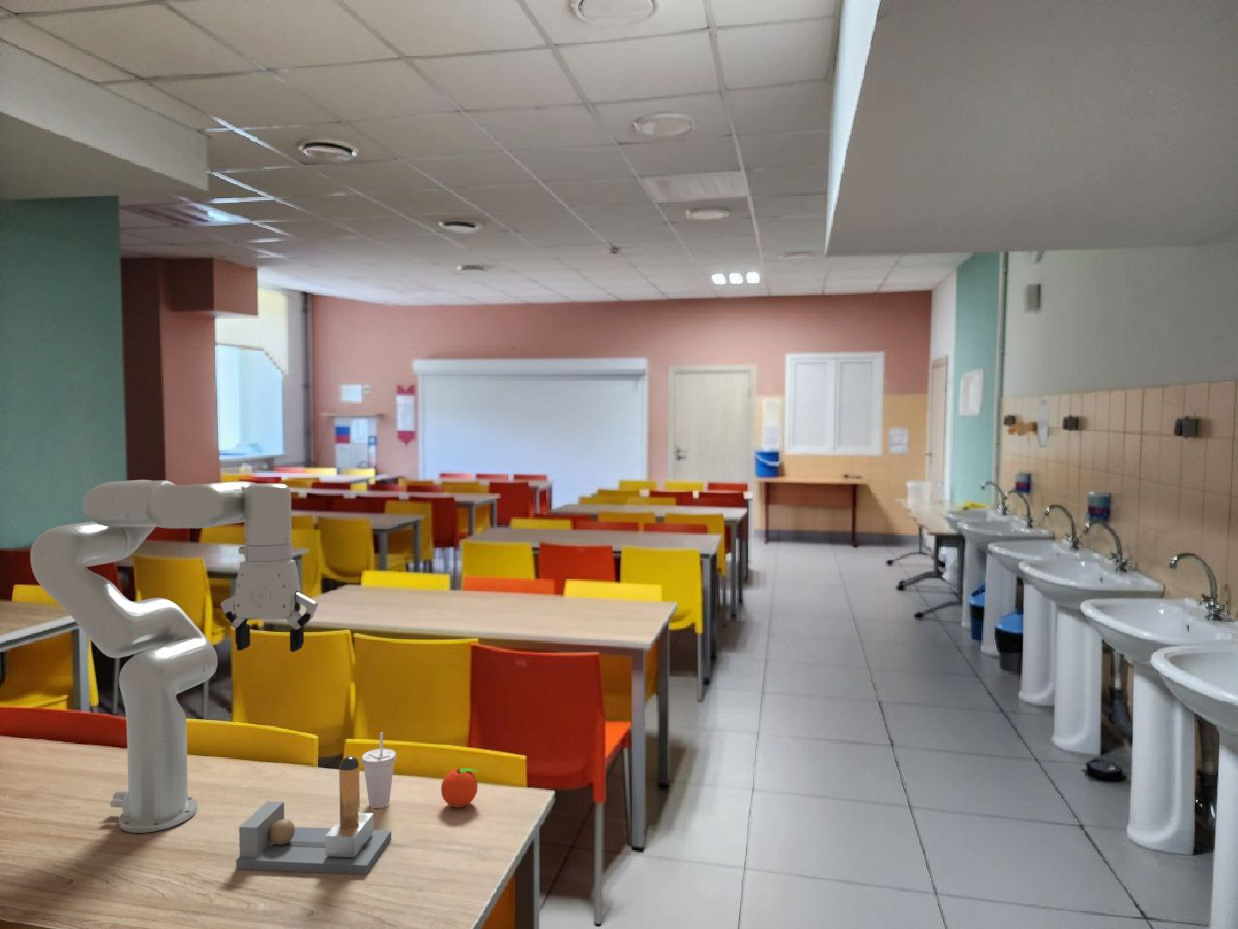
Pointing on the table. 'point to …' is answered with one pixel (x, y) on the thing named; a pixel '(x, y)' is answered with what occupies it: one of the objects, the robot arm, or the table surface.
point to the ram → (349, 815)
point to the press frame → (298, 846)
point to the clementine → (459, 787)
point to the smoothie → (379, 774)
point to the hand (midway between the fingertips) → (269, 649)
